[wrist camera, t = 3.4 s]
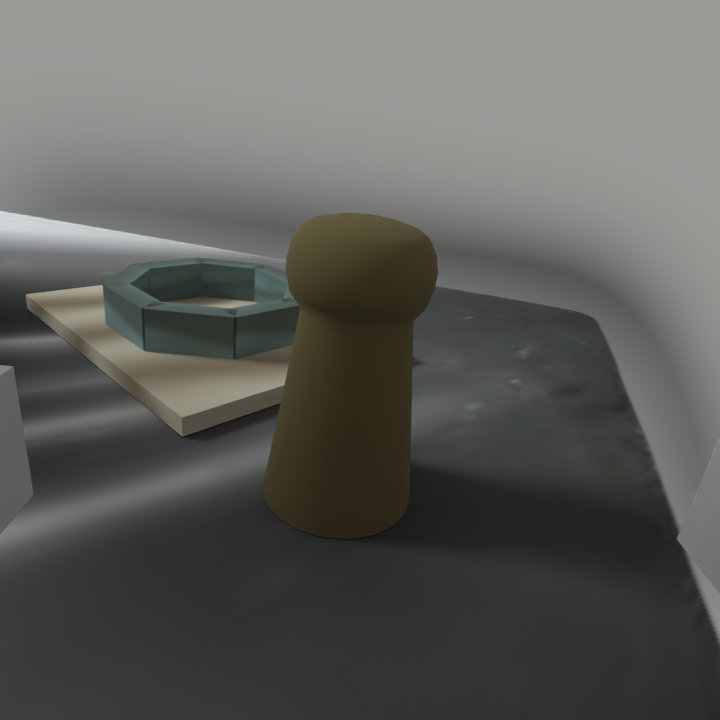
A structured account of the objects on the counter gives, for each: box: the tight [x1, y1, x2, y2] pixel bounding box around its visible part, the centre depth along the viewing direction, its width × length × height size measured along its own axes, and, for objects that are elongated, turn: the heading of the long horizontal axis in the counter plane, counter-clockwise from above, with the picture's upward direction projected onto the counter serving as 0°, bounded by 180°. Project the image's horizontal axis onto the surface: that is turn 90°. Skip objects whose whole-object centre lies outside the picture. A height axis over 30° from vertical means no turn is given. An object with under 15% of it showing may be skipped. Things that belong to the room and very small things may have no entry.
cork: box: [263, 213, 438, 539], centre depth 20 cm, size 6×6×11 cm
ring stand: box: [26, 258, 300, 437], centre depth 36 cm, size 20×16×4 cm
